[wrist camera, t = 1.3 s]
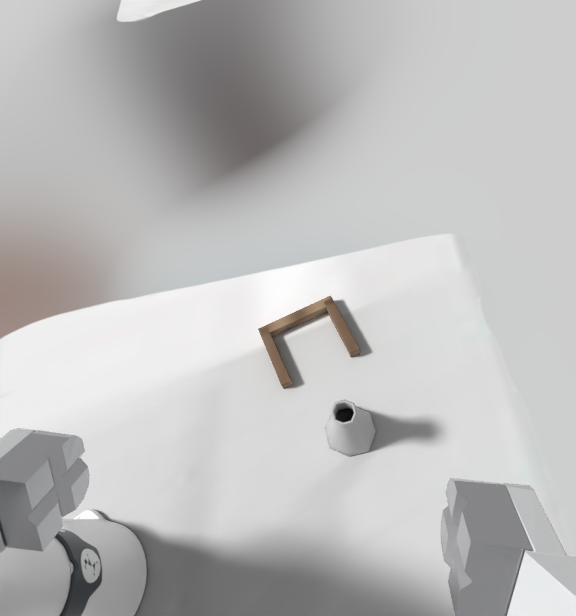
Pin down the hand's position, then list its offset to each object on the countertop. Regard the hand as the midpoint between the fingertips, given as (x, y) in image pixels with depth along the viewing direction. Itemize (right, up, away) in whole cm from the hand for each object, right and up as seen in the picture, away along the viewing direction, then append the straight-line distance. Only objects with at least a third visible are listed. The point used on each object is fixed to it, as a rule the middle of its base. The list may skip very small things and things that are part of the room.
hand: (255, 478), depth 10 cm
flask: (+10, -14, +53) cm, 56 cm away
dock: (+4, -2, +61) cm, 61 cm away
